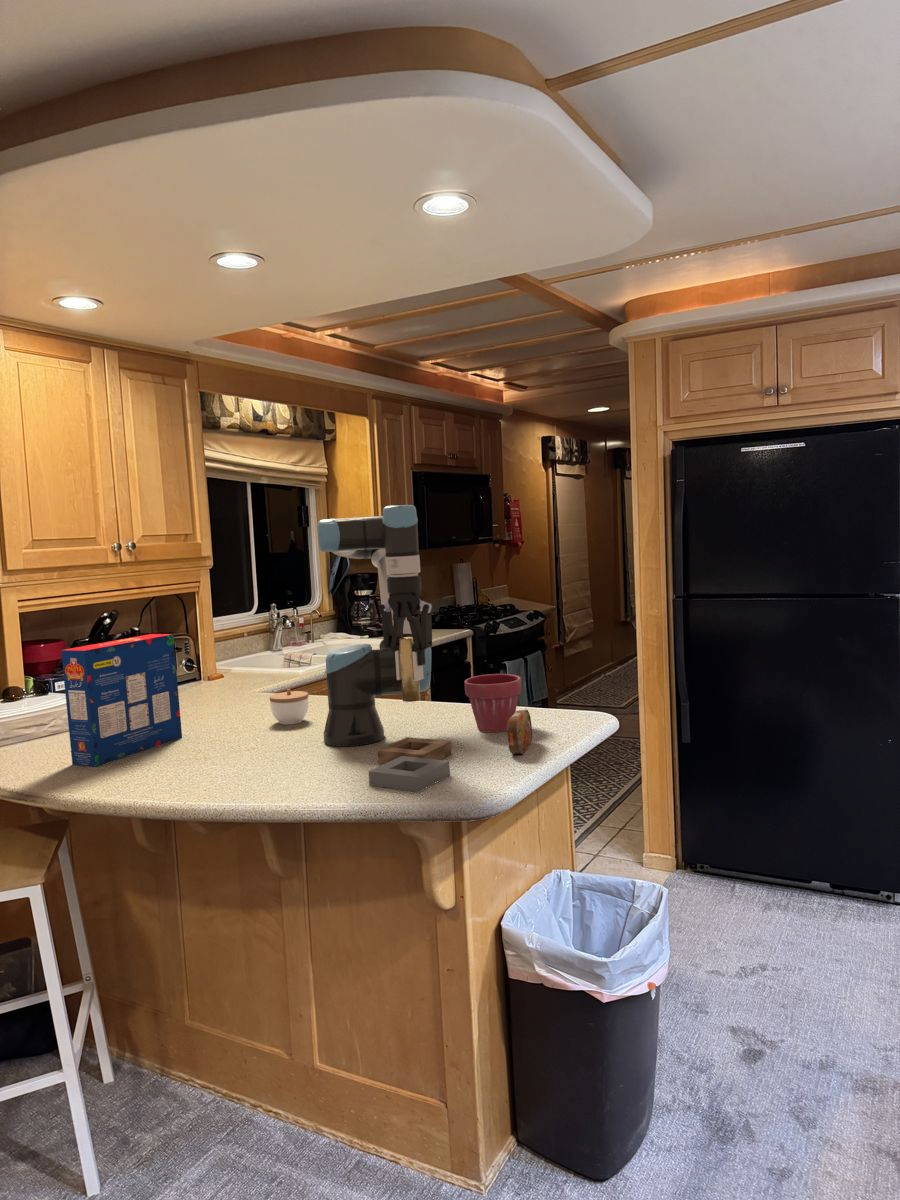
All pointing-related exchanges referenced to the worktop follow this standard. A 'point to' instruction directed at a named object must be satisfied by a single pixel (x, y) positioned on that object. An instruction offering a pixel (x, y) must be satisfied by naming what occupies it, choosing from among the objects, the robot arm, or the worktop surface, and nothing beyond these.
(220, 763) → the worktop surface
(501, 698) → the plant pot
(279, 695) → the lidded jar
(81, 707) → the pasta box
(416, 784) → the plate
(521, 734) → the tin
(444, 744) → the brown wooden square frame
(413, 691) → the lock pin
